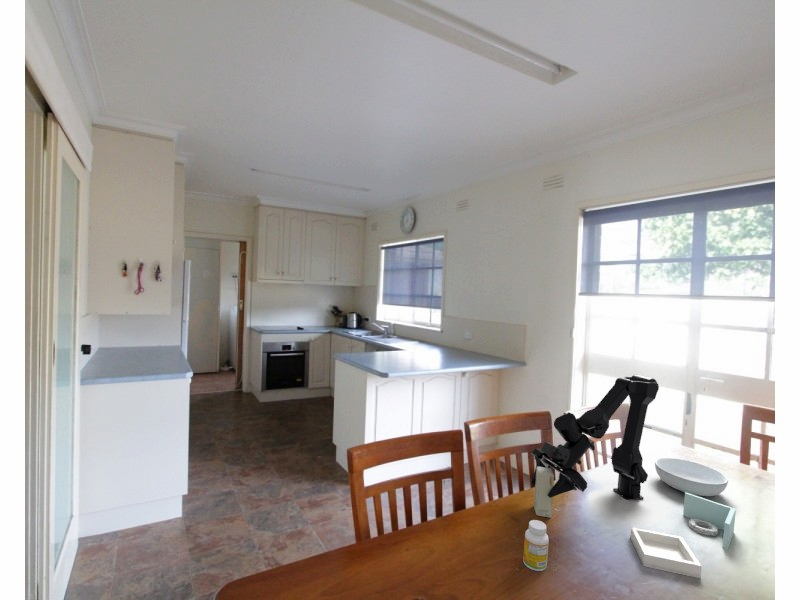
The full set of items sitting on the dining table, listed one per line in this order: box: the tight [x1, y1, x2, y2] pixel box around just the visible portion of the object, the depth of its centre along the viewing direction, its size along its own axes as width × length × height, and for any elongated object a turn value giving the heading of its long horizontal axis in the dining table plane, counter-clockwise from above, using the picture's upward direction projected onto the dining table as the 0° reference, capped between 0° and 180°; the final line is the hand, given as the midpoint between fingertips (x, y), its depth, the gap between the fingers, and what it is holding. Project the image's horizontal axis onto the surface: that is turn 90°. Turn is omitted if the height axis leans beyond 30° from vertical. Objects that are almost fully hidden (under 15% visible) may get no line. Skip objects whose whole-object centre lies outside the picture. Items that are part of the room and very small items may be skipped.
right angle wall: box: [682, 492, 737, 550], centre depth 118 cm, size 12×12×8 cm
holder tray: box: [629, 527, 703, 579], centre depth 105 cm, size 12×12×3 cm
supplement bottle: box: [522, 519, 550, 572], centre depth 99 cm, size 5×5×10 cm
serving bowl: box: [654, 457, 729, 497], centre depth 144 cm, size 21×21×7 cm
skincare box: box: [533, 466, 555, 519], centre depth 123 cm, size 6×4×12 cm
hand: (540, 490), depth 123 cm, fingers closed on skincare box, 7 cm apart
